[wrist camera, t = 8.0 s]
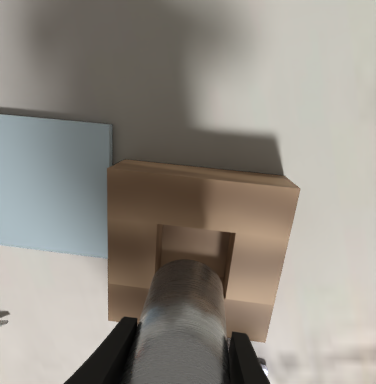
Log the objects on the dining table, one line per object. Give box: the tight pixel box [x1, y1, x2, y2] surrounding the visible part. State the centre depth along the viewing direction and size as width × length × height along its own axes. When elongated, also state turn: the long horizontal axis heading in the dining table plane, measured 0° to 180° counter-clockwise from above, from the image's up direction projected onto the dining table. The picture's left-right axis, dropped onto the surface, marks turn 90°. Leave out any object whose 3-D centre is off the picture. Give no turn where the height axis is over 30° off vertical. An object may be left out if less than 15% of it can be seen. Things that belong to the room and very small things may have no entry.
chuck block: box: [107, 159, 300, 343], centre depth 19 cm, size 12×12×4 cm
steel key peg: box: [119, 259, 231, 384], centre depth 10 cm, size 4×4×8 cm
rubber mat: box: [0, 114, 112, 259], centre depth 20 cm, size 11×10×1 cm
